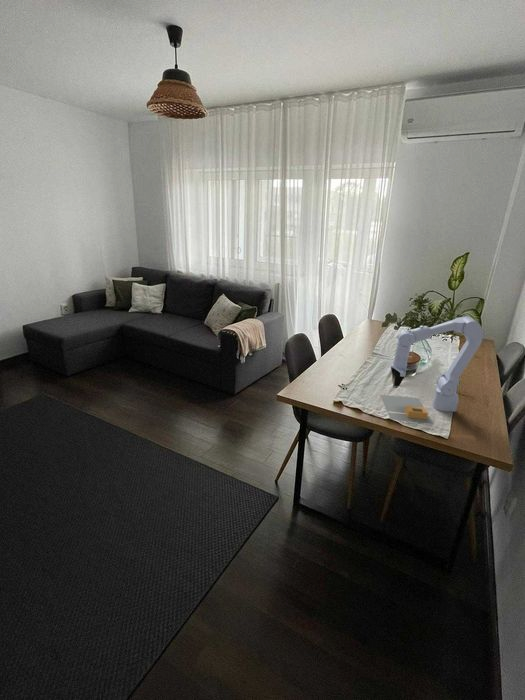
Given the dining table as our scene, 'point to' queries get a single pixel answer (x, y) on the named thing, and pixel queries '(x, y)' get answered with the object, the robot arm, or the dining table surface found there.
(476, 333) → the robot arm
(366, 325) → the dining table surface
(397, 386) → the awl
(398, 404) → the floor panel
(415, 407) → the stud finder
